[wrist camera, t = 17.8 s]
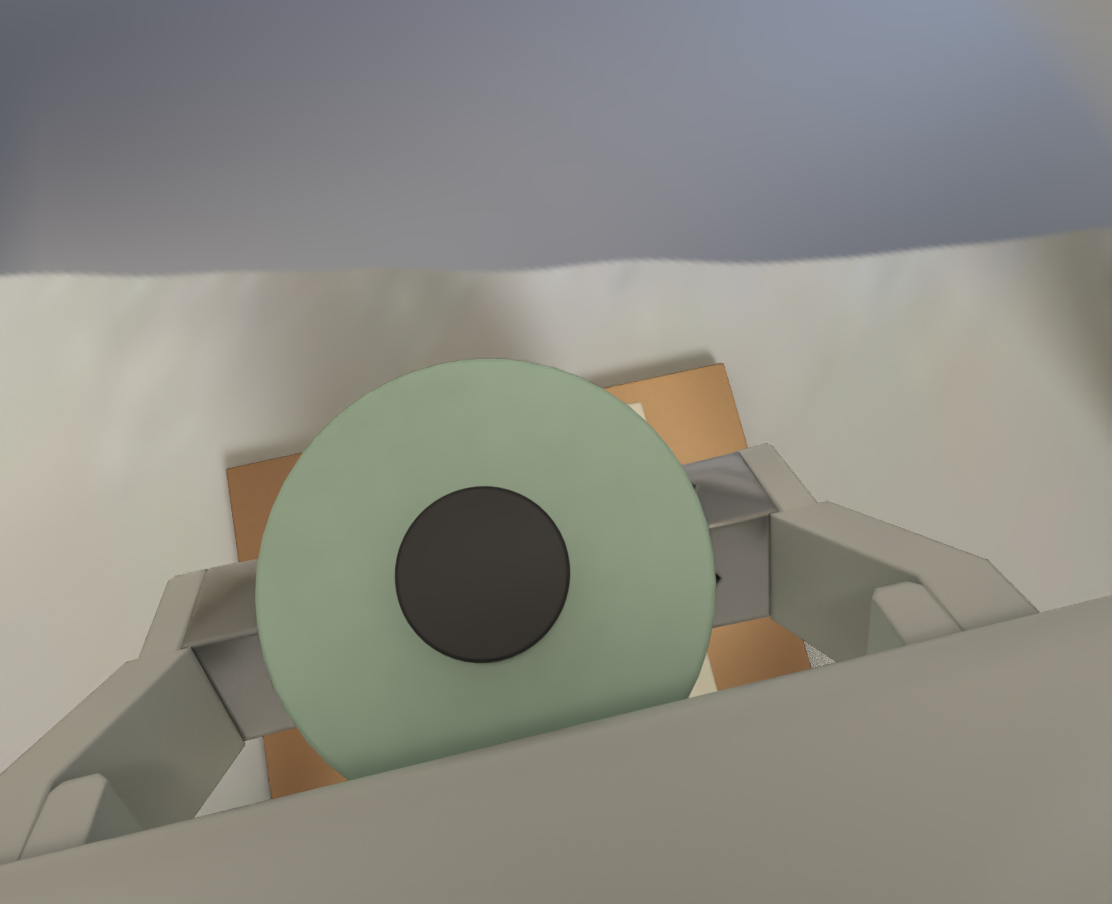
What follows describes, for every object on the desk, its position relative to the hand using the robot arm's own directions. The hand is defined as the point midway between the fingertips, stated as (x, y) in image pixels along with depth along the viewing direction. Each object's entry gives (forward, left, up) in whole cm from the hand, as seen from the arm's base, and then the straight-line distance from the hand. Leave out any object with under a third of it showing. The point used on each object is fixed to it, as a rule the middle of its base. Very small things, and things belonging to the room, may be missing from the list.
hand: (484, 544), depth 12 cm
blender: (0, -1, -12) cm, 12 cm away
